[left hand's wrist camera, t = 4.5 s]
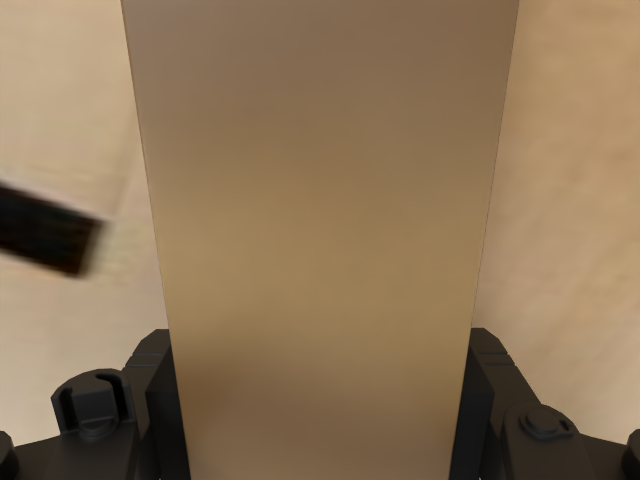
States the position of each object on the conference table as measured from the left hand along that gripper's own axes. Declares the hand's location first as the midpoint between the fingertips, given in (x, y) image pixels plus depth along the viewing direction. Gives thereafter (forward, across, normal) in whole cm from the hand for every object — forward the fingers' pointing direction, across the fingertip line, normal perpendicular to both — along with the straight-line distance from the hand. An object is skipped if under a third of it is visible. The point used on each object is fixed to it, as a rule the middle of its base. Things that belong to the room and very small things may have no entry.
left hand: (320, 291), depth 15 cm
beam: (+1, 0, -20) cm, 20 cm away
